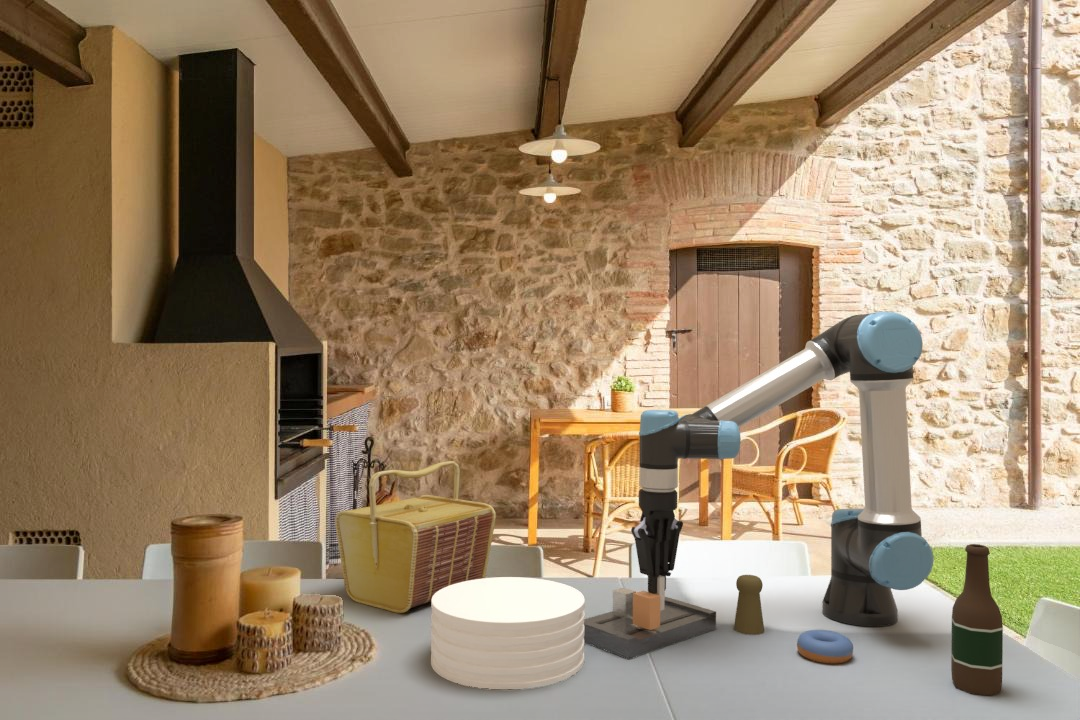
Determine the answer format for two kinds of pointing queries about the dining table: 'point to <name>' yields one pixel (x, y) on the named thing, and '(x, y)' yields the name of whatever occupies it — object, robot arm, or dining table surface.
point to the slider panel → (633, 640)
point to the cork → (749, 606)
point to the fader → (646, 610)
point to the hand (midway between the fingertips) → (656, 608)
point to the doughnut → (825, 646)
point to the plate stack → (507, 632)
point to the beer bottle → (977, 630)
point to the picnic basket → (412, 545)
